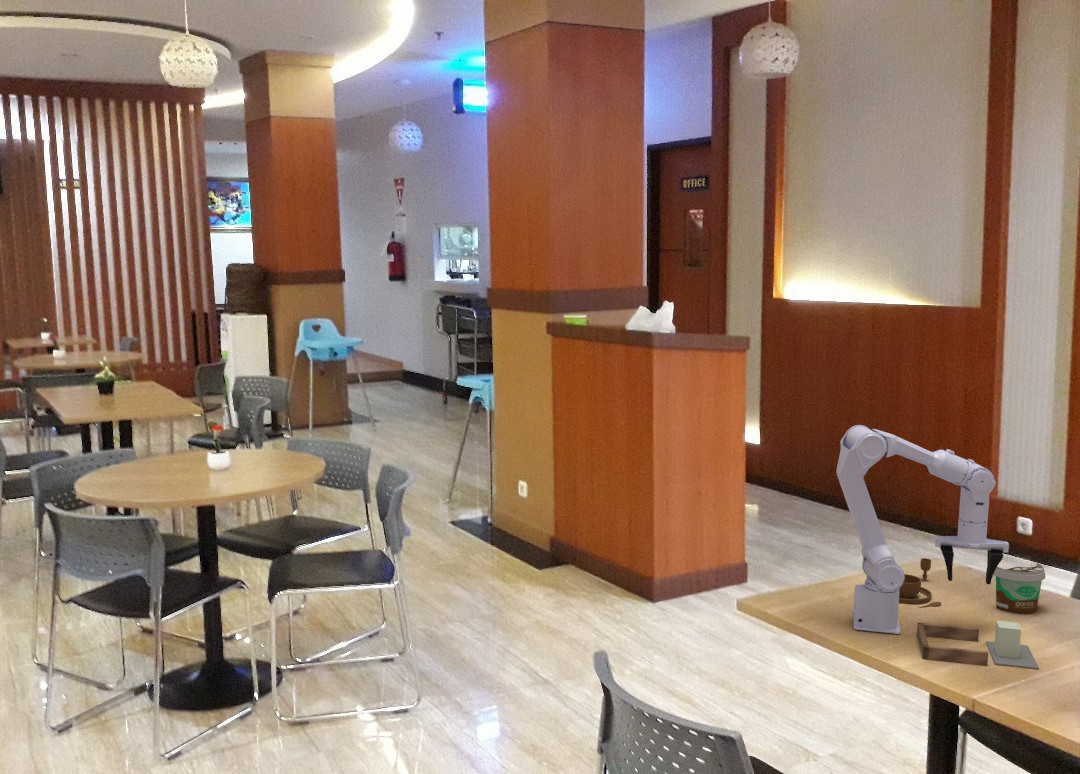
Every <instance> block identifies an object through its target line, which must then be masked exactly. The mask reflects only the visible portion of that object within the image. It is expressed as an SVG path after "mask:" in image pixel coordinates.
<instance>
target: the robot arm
mask: <svg viewBox="0 0 1080 774" xmlns="http://www.w3.org/2000/svg"><path fill="white" fill-rule="evenodd" d="M895 455H898V456H901V457H903V458H906V459H909V460H911V461H914V462H916V463H919V464H921V465H925V466H926V468H927V470H928V472H929V474H930V475H932V476H935V477H937V478H939V479H942V480H943V481H944V480H945V481H946V482H948V483H952V484H954V485H957V486H960V497H959V509H958V510H959V511H958V512H959V513H958V524H957V535H950V536H949V535H945V536H944V535H943V536H942V535H940V536H939V535H935V537H934V547H936V548H939V549H940V551H941V553H942V556H943V559H944V563H945V567H946V572H947V573H946V574H947V580H948V582H953V567H954V566H953V564H954V556H955V553H954V548H957V549H958V548H959V549H968V550H971V549H972V550H980V551H981V550H982V551H986V552H987V555H986V556H987V557H986V558H987V563H986V572H985V584H986V585H991V583H992V579H993V576H994V575H993V574H994V572H995V570H996V568H997V567H999V565H1000V563H1001V561H1003V558H1004V553H1008V554H1009V551H1010V550H1009V548H1010V543H1009V542H1008V541H1005V540H997V539H991V538H987V534H988V522H989V521H988V520H989V519H988V517H989V509H990V508H989V505H990V494H991V492H992V491H993V490H994V489H995V486H996V484H997V481H996V480H995V477H994V474H993V473H992V471H991V470H989V469H988V468H986V467H984V466H982V465H980V464H978V463H976V462H975V460H973V459H971V458H968V459H966V458H963V457H961V456H958V455H956V454H955V451H953V450H951V449H948V448H946V450H944V449H938V450H935V451H930V450H928V449H926V448H924V447H921V446H919V445H918V444H915V443H913V442H910V441H908V440H907V439H906V440H905V439H904V438H901V437H899V436H897V435H896V434H892V433H889V432H885V431H883V430H880V429H876V428H872V429H870V428H869V427H868V426H866V425H862V424H857V425H854V426H851V427H850V428H849V429H847V430H846V432H845V434H843V437H842V438H841V439H840V452H839V457H838V462H837V465H836V476H837V479H838V481H839V484H840V485H839V486H840V487H841V490H842V492H843V496H844V500H845V503H846V505H847V508H848V510H849V513H850V516H851V519H852V521H853V522H852V523H853V525H854V527H855V530H856V532H857V536H858V538H859V541H860V544H861V546H862V547H861V550H860V552H861V555H862V564H861V567H862V572H863V573H864V574H865V575H866V578H865V580H864V584H863V583H862V584H855V585H854V594H853V609H852V610H851V618H852V621H853V629H854V630H856V631H857V630H858V631H865V632H874V633H875V632H876V633H885V634H896V635H900V634H901V628H900V623H899V622H900V621H899V619H898V618H899V604H900V603H899V598H900V597H899V591H900V587H901V586H902V584H903V582H904V578H905V575H904V574H905V571H904V570H903V568H902V567H901V566H900V565H899V564H898V563H897V561H896V559H895V557H894V555H893V553H892V551H891V549H890V548H889V546H888V545H887V542H886V539H885V536H884V533H883V531H882V527H881V525H880V522H879V519H878V516H877V513H876V510H875V507H874V504H873V502H872V499H871V496H870V493H869V491H868V488H867V484H866V481H865V479H864V477H865V476H866V474H867V473H868V471H869V469H870V468H871V467H873V466H874V465H875V464H876V463H878V462H879V461H880V460H881V459H882V458H883V457H886V458H889V457H893V456H895Z"/></svg>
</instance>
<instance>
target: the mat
mask: <svg viewBox="0 0 1080 774" xmlns="http://www.w3.org/2000/svg"><path fill="white" fill-rule="evenodd" d="M985 643H986V646H987V649H988V651H989V654H990V656H991V658H992V661H993V664H994V666H995V665H996V666H997V665H998V666H1002V667H1003V666H1006V667H1015V668H1022V669H1033V670H1040V667H1039V665H1038V663H1037V661H1036V659H1035V657H1034V654H1033V653H1032V651H1031V649H1030V647H1029V645H1028V644H1020V649H1019V658H1011V657H1001V656H997V654H996V652H995V649H994V645H995V641H989V640H985Z"/></svg>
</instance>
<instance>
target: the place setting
mask: <svg viewBox="0 0 1080 774" xmlns="http://www.w3.org/2000/svg"><path fill="white" fill-rule="evenodd" d="M919 567H920V570H922V571H923V573H922V574H923V575H922V578H923V579H921V578H920V577H918V576H916V575H913V574H907V573H904V575H905V578H904V582H903V584H902V586H901V587H900V591H899V604H905V605H919V604H925V603H928V602H929V601H930V600H931V599H932V596H933V593H932V592H931V591H930V590H928V589H927V588H925V587H922V582H924V581H925V583H926V581H927V582H928V580H927V579H928V575H927V574H928V572H929V571H930V570H931V568H932V559H930V558H925V557H922V558H920V566H919ZM919 592H920V594H922V595H924V596H925V597H924V598H915V599H914V597H915V596H917V595H918V594H919ZM926 596H927V597H926ZM941 605H942V602H941V601H934V602H930V603H929V604H926V605H923V606H918V607H917V608H918V609H922V608H929V607H931V608H933V607H934V608H935V607H940V606H941Z"/></svg>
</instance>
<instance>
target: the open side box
mask: <svg viewBox="0 0 1080 774" xmlns="http://www.w3.org/2000/svg"><path fill="white" fill-rule="evenodd" d="M916 629H917V630H916V634H917V638H918V644H919V648H920V651H921V656H922V659H924V660H932V661H941V662H951V663H952V662H953V663H958V664H959V663H961V664H969V665H977V666H988V664H989V652H988V651H986V650H985V651H984V650H974V649H965V648H956V647H955V648H954V647H947V646H938V645H929V642H928V638H927V637H929V638H930V637H931V638H940V639H949V640H959V641H969V642H979V638H980V637H979V634H980V629H979V628H978V627H968V626H967V627H966V626H958V625H957V626H956V625H946V624H937V623H926V622H917V628H916Z"/></svg>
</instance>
